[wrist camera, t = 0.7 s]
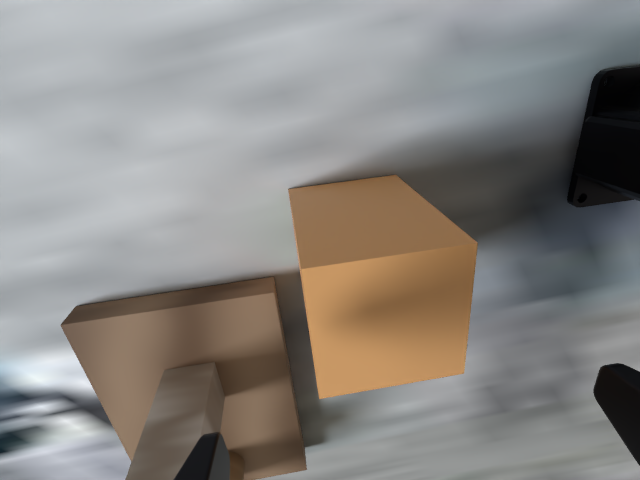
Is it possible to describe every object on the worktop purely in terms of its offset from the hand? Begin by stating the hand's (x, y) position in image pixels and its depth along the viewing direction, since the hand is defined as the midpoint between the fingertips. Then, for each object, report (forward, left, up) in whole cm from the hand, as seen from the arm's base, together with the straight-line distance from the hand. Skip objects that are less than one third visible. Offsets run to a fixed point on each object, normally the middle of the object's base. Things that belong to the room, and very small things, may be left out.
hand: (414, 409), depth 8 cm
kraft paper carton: (0, 0, -11) cm, 11 cm away
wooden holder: (+9, +9, -11) cm, 17 cm away
